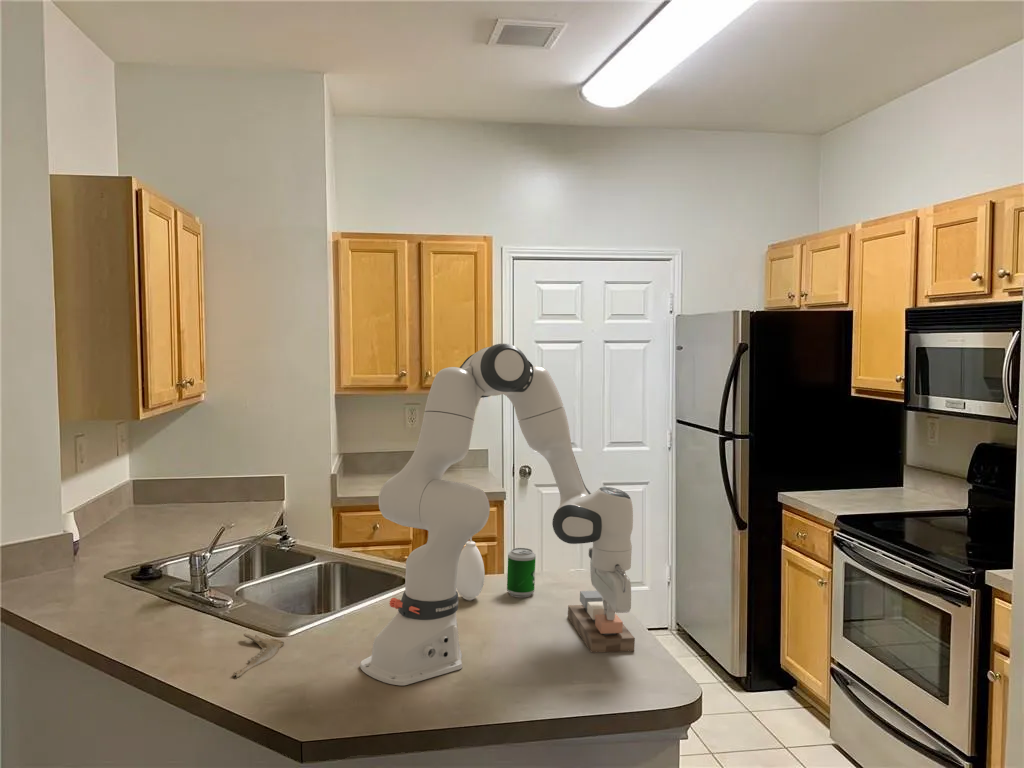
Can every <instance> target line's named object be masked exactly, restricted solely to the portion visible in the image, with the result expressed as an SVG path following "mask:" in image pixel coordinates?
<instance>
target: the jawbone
mask: <svg viewBox="0 0 1024 768" xmlns="http://www.w3.org/2000/svg"><path fill="white" fill-rule="evenodd" d="M243 637H244V638H247V639H249V640H250V641H253V642H255V644H257V645H258V646H259V648H261V649H260V651H258V653H257V654H256V655H255V656H252V657H251V658H250V659H247V662H248V664H247V665H246V666H245V667H242V668H241V669H239V670H237V671H235V672H233V673H232V677H233V678H235V679H237V678H239V677H242V676H243V675H244V674H245V673H246V672H248V671H250V670H251V669H254V668H255V667H258V666H259V665H262V664H265V663H266V662H268V661H269V660H271V659H273V658H274V657H275V656H277V654H278V652H279V650H280V649H281V648H282V647H283V646H284V645H285V642H284V641H283V640H280V639H274V638H273V639H272V638H271V639H269V638H262V637H260V636H258V635H257V634H255V636H254V635H252V634H249V633H246V632H245V633H243Z"/></svg>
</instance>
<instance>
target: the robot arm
mask: <svg viewBox="0 0 1024 768" xmlns="http://www.w3.org/2000/svg"><path fill="white" fill-rule="evenodd" d="M500 395H501V396H502V395H504V396H505V397H507V398H508V400H509V401H510V402H511V404H512V406H513V407H514V410H515V415H516V418H517V421H518V425H519V428H520V430H521V433H522V435H523V437H524V439H525V441H526V443H527V445H528V446H529V448H530V449H532V450H533V451H536V452H537V453H539V454H540V455H542V456H543V458H544V459H545V460H546V461H547V463H548V464H549V466H550V469H551V472H552V475H553V477H554V480H555V481H554V482H555V483H556V486H557V489H558V492H559V496H560V498H559V499H560V501H559V506H558V508H557V509H556V511H555V513H554V515H553V517H552V522H551V524H552V525H551V526H552V528H553V532H554V534H555V535H556V537H557V538H558V539H560V541H562V542H563V543H566V544H570V545H578V544H590V543H592V547H590V548H589V549H588V557H589V560H590V562H589V563H590V569H589V571H590V572H589V573H590V582H591V585H592V587H593V588H594V589H595V591H598V592H599V594H600V595H601V596H602V601H603V607H604V616H605V617H606V618H607V620H614V619H615V614H617V613H618V614H619V613H620V614H624V613H629V612H630V611H631V608H632V584H631V579H630V578H629V576H628V575H627V574H626V571H627V572H628V571H629V570H630V569H631V567H632V548H633V547H632V546H633V545H632V540H631V535H632V532H633V527H634V526H633V525H634V510H633V509H634V508H633V501H632V499H631V497H630V495H629V494H628V493H627V492H625V491H624V490H622V489H620V488H615V487H611V486H610V487H609V486H608V487H607V486H602V487H599V488H598V489H597V490H595V491H594V492H590V491H589V488H587V486H586V485H585V482H584V480H583V477H582V474H581V470H580V469H579V466H578V462H577V459H576V457H575V454H574V451H573V447H572V446H573V445H572V439H571V433H570V426H569V421H568V417H567V413H566V409H565V406H564V403H563V400H562V398H561V396H560V393H559V390H558V388H557V386H556V384H555V381H554V379H553V378H552V376H551V375H550V372H549V371H548V370H547V369H545V368H544V367H542V366H539V365H533V364H532V362H530V360H529V359H528V358H527V357H526V355H525V354H524V353H523V351H521V349H519V348H518V346H517V347H516V346H515V345H513V344H510V343H496V344H493V345H491V346H488V347H487V346H486V347H484V348H482V349H480V350H477V351H476V352H475V353H473V354H471V355H470V356H468V357H467V358H466V359H465V360H464V362H463V363H462V364H461V365H460V366H459V367H457V366H449V367H445V368H442V369H441V370H439V371H438V372H437V373H436V374H435V376H434V379H433V381H432V383H431V386H430V389H429V392H428V395H427V398H426V403H425V406H424V407H425V408H424V413H423V417H422V423H421V426H420V427H421V428H420V431H419V436H418V440H417V444H416V446H415V449H414V452H413V453H412V455H411V457H410V459H409V460H408V462H407V463H406V464H405V465H404V467H403V468H401V470H400V471H399V472H397V473H396V474H395V475H393V476H392V477H391V478H390V477H389V478H388V479H387V481H385V482H384V484H383V485H382V487H381V489H380V491H379V494H378V509H379V511H380V513H381V515H382V517H383V518H384V519H385V520H388V521H390V522H392V523H394V524H397V525H400V526H402V527H406V528H407V527H408V528H414V529H419V530H424V531H425V530H426V531H427V532H428V533H427V534H428V535H427V540H426V541H427V542H426V543H425V544H423V545H421V546H419V547H417V548H415V549H414V550H412V551H411V552H410V553H409V555H408V556H407V558H406V562H405V583H404V584H405V585H404V587H405V588H404V589H405V590H404V592H403V593H402V595H401V599H399V598H396V597H391V598H390V600H389V607H390V608H394V609H396V610H397V613H396V614H395V615H394V616H393V617H392V619H391V620H390V621H389V622H388V623H387V624H386V625H385V627H383V629H382V630H381V631H380V632H378V634H377V635H376V636H375V638H374V640H373V644H372V648H371V650H372V651H371V655H370V656H368V657H366V658H364V659H362V660H361V661H360V663H359V668H360V669H361V670H362V672H363V673H365V674H366V675H367V676H369V677H370V678H373V679H375V680H378V681H380V682H383V683H385V684H390V685H394V686H395V685H396V686H407V685H411V684H414V683H418V682H421V681H424V680H428V679H431V678H434V677H438V676H441V675H445V674H448V673H451V672H455V671H458V670H461V669H462V668H463V662H462V658H463V657H462V656H463V654H462V650H461V645H460V640H459V639H460V637H459V629H458V621H457V620H458V619H457V611H458V610H459V593H458V590H457V588H456V584H457V570H458V562H459V557H460V554H461V552H462V550H463V548H464V547H465V546H466V542H468V541H470V538H471V537H472V538H473V537H474V535H476V534H478V533H479V532H480V531H482V530H483V528H484V527H485V526H486V525H487V523H488V519H489V517H490V511H491V510H490V509H491V508H490V506H491V505H490V500H489V499H488V496H487V494H486V492H485V491H484V490H483V489H481V488H478V487H476V486H473V485H471V484H468V483H465V482H458V481H452V480H451V481H450V480H446V479H445V480H443V476H444V474H445V472H446V471H447V470H448V469H449V468H450V467H451V466H452V465H455V464H457V463H459V462H461V461H463V460H464V459H465V457H466V456H467V455H468V453H469V451H470V444H471V438H472V433H473V428H474V427H473V426H474V424H475V423H474V421H475V416H476V415H475V414H476V408H477V406H478V405H477V404H478V403H479V401H480V399H481V398H482V399H483V398H489V397H491V396H492V397H495V396H500Z"/></svg>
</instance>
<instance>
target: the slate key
mask: <svg viewBox="0 0 1024 768" xmlns="http://www.w3.org/2000/svg"><path fill="white" fill-rule="evenodd" d="M601 601H602V596H601V595H600V594H599V592H598V591H597V590H580V591H579V602H580V603H581V605H583V606H584V607H585V611H586V612H587V604H588V602H601ZM587 613H588V612H587Z"/></svg>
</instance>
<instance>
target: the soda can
mask: <svg viewBox="0 0 1024 768" xmlns="http://www.w3.org/2000/svg"><path fill="white" fill-rule="evenodd" d="M533 551H534V550H533V549H531V548H526V547H515V548H512V549H511V551H509V552H508V553H507V573H506V574H507V575H506V576H507V577H506V578H507V579H506V591H507V593H509V595H510V596H511V597H513V598H529V597H531V596H532V594H534V593H535V585H536V584H535V582H536V581H535V580H536V557H537V556H536V553H535V552H533Z"/></svg>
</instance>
